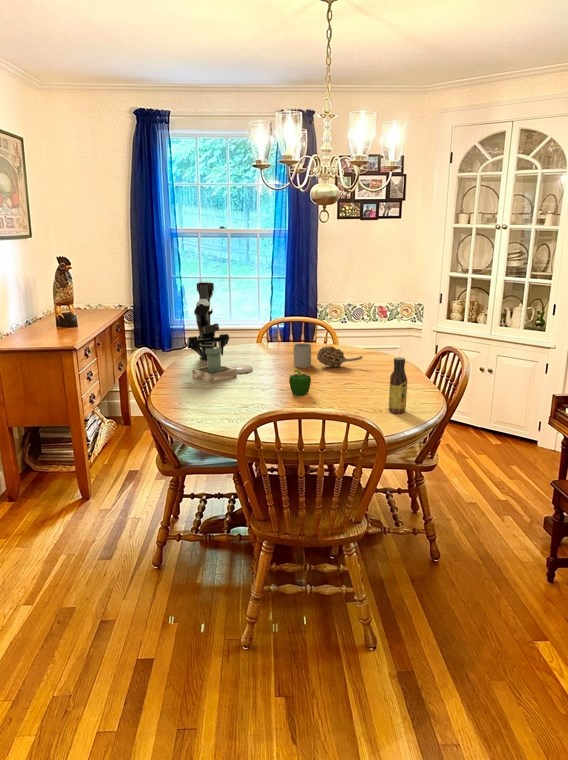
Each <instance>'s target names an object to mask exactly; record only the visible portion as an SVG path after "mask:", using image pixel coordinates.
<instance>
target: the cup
mask: <svg viewBox="0 0 568 760" xmlns="http://www.w3.org/2000/svg"><path fill="white" fill-rule="evenodd" d="M294 366H295V368H297V367H299V369H307V368H306V367H308V368H310V366H311V367H312V344H310V343H295V344H293V367H294Z"/></svg>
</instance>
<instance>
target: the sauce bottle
mask: <svg viewBox="0 0 568 760" xmlns="http://www.w3.org/2000/svg"><path fill="white" fill-rule="evenodd" d="M393 363H394V364H393V365H394V366H393V371H392V373H390V377H389V390H388V392H389V393H388V411H389V412H390V413H391V414H403V413H406V408H407V394H408V393H407V392H408V378H407V374H406V371H405V365H406V358H405V357H400V356H399V357H394V358H393Z"/></svg>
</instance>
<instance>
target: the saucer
mask: <svg viewBox="0 0 568 760" xmlns="http://www.w3.org/2000/svg"><path fill="white" fill-rule="evenodd" d="M228 367H231V368H235V369H236V371H237V373H243V374H247V373H246V372H249V373H251V372H253V370H254V369H253V368H254V367H253V366H252V365H250V364H233V365H229V366H228ZM250 371H251V372H250Z"/></svg>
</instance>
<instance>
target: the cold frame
mask: <svg viewBox="0 0 568 760" xmlns="http://www.w3.org/2000/svg"><path fill="white" fill-rule="evenodd" d="M191 372H192V378H194V377H195V379H198V380H201V381H204V380H205V382H207V381H208V382H207V383H210V384H213V383H214V384H215V383H217V381H218V382H222V381H224V380H229V379H232V377H233V378H235V377H234V376H238V374H237V371H236V369H235V368H231V367H229V366H226V365H223V364H221V372H220V373H216V374H209V373H208V367H207V365H205V366H202V367H196V368H193V369H192V371H191ZM228 378H229V379H228ZM221 380H222V381H221Z"/></svg>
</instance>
